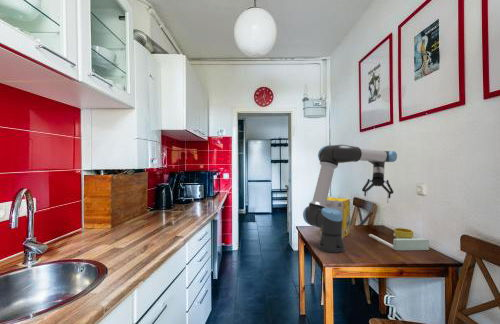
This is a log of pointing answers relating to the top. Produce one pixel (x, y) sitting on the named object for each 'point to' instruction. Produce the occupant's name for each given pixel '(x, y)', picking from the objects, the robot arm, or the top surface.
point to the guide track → (406, 243)
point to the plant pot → (403, 233)
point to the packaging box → (344, 207)
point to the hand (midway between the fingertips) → (376, 201)
